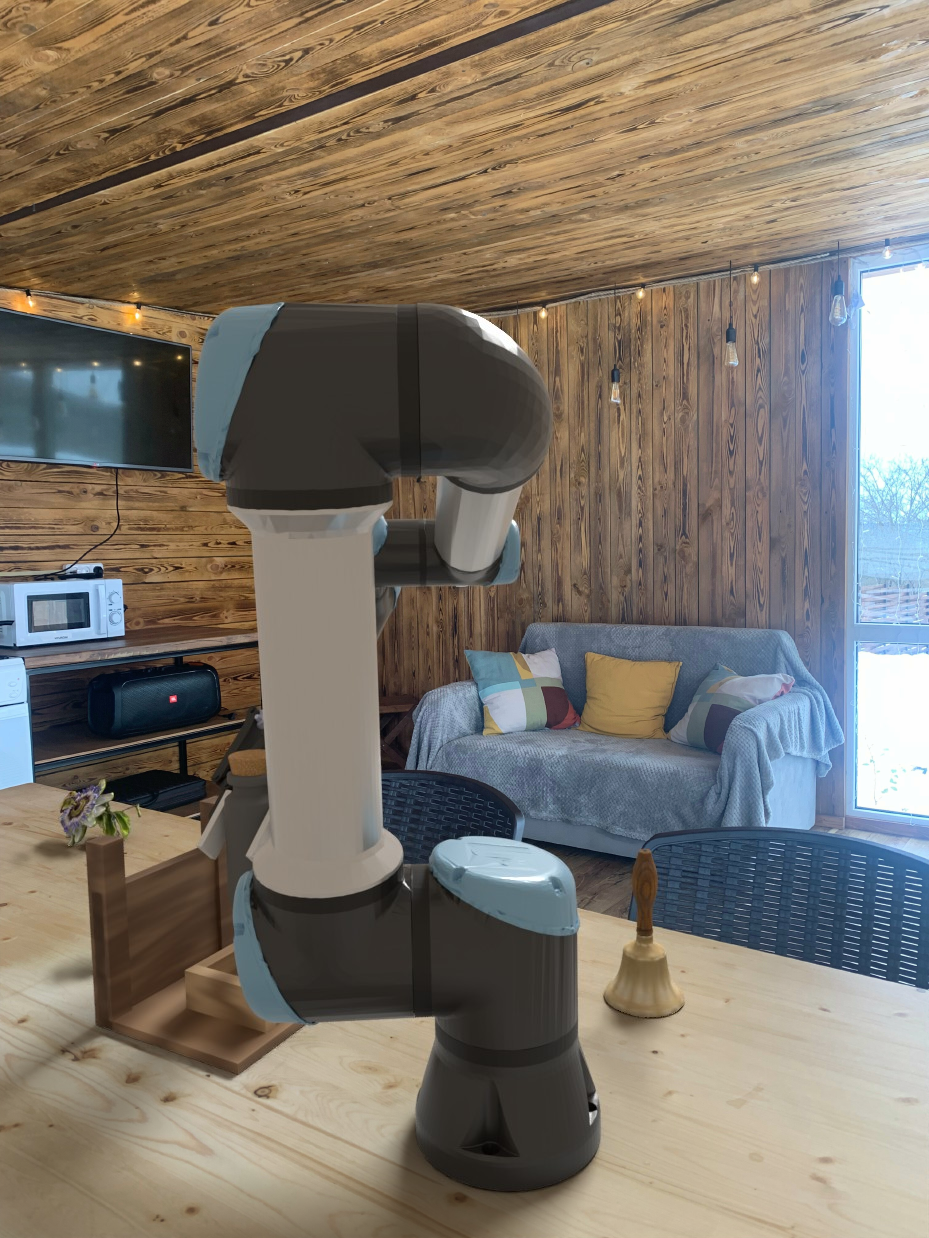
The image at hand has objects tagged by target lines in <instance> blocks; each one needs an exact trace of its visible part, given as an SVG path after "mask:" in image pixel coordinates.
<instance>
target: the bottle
mask: <svg viewBox="0 0 929 1238" xmlns="http://www.w3.org/2000/svg"><path fill="white" fill-rule="evenodd" d="M228 759H229V763H230V767H231V771H230V772H228V773H227V783H228V784H229V785H231V786H233V792H231V793H230V794H228V795H227V797H226V798H225V800H224V810H225V835H226V858H227V880H228V897H229V901H230V902H231V903H232V904H233V903H234V895H235V891H236V887H237V884H238V881H239V879H240V877H241V876H242V875H243V874H244V873H246V872H248V871H251V870H252V869H253V862H252V861H251V860H250V859H249V858H247V857H246V854H247V852H248V850H249V848H250V846H251V844H252V842H253V840H254V838H255V836H256V834H257V832H258V830H259V828H260V826H261V824H262V822H263V820H264V818H265V816H266V814H267V812H268V810H269V797H268V781H267V766H266V751H265V750H263V749H254V750H244V751H238V752H235V753H232V754H230V755H229V756H228Z"/></svg>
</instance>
